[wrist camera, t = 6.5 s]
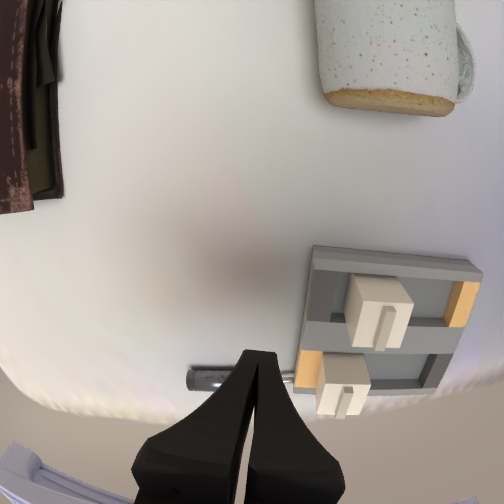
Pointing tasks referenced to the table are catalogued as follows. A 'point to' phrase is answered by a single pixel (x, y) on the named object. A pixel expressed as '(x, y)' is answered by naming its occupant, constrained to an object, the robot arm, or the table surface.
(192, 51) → the table surface
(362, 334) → the tab
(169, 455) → the robot arm
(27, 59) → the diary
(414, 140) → the table surface
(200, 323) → the table surface
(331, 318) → the switch bank
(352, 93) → the ceramic mug
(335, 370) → the tab
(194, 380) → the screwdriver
